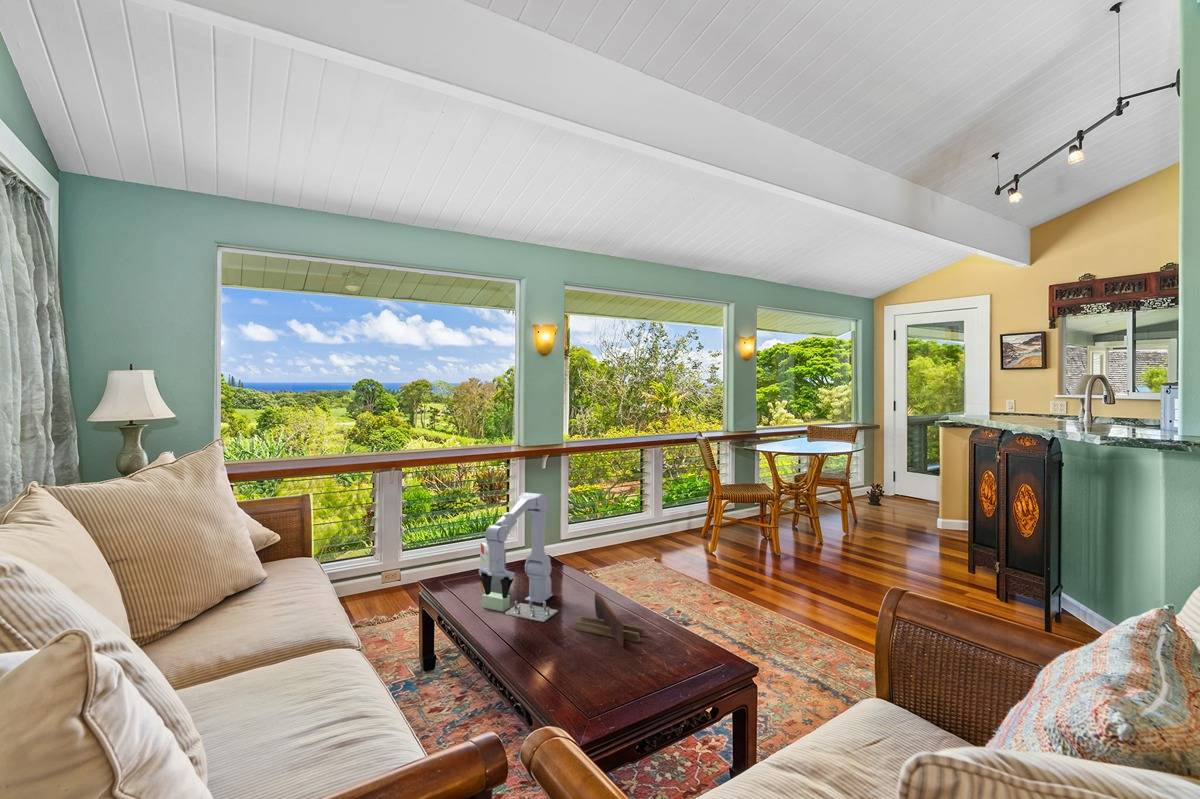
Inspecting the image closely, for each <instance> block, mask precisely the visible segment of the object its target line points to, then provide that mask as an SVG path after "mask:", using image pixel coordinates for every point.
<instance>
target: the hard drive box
mask: <svg viewBox="0 0 1200 799" xmlns="http://www.w3.org/2000/svg"><path fill="white" fill-rule="evenodd" d="M479 547H480V548H479V554H480V555H479V556H480V557H479V559H480V560H479V561H480V562H479V564H480V565H479V566H480V567H479V568H482V567H484V568H488V545H487V540H483V541H480V542H479ZM506 551H507V549H506V548H505V547H504V569H505V570H507V567H506V566H507V565H506V564H507V563H506V561H507V560H506V559H507V558H506V557H507V556H506V555H507V553H506ZM479 576H481V574H479ZM502 579H504V577H498V576H492V580H491V592H494V593H499V594H502V586H501V582H500V580H502ZM479 581H480V580H479ZM479 586H480V588H481V590H482V591H483V592H484V593H483V594H485V590H484V587H483V584H482V582H481V581H480V585H479Z"/></svg>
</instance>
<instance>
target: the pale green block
mask: <svg viewBox="0 0 1200 799" xmlns="http://www.w3.org/2000/svg"><path fill="white" fill-rule="evenodd" d="M510 602H511V596H510V595H509V594H508V597H507V598H505V599H503V597H502V594H499V593H494V592H491V593H490V594H489V595H486V594H485V593H483V594H482V595H481V608H483V609H487V610H492V611H493V610H494V611H498V612H506V611H507V610H509V608H510V609H511V607H510Z"/></svg>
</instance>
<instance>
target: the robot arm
mask: <svg viewBox="0 0 1200 799" xmlns="http://www.w3.org/2000/svg"><path fill="white" fill-rule="evenodd" d="M526 511H528V512H529V513H530V514H531V516H532V520H531V522H532V523H531V553H530V554H529V555H528V556H526V558H525V559H526V560H525V564H524V572H525V574H526V575H527V577H528V585H529V586H528V588H529V589H528V596H526V597H525V598H524V600H525V601H528V602H529V599H532V603H533V602H534V603H538V604H543V602H546V601H547V600H548V599H550V598H551V597H552V596H553V595H554V594H553V593H552V578H551V576H550V575H551V572H552V570H553V569H552V564H551V557H550V556H549V555H548V554H547V553H546V552H545V543H546V540H545V539H546V536H545V535H546V513H547V512H548V497H547V496H546V495H545V494H544V493H534V492H526V491H523V492H522V493H521V494H520V495H519V496H518V499H517V503H516V504H515V505H514V507H512V509H511V510H510V511H509V512H508V511H507V512H504V513H503V514H502V515H501V517H500V518H499V519H498V520H497V521H496V522H495V523H494V524H491V525H489V526H488V527H487V528H486V530H485V533H484V539H485V541H487V545H488V568H484V567H482V568H480V567H479V568H478V575H479V577H478V578H479V581H481V582H482V584H483V587H484V590H485V593H484V594H486V595H489V594H490V593H491V580H492V576H498V577H504V579H502V580H500V582H501V586H502V597H503V599H505V598H507V597H508V595H509V592H510V588H511V585H512V584H513V582H514V580H515V577H516V575H515V572H513V571H510V570H508V569H506V570H505V569H504V548H505V541H507V539H508V537H509V534H510V531H511V530H512V529H513V528H514V527H515V526H516V524H517V522H518V520H517V519H518V518H519V517H520V516H521V515H523V513H524V512H526ZM480 574H481V576H480Z"/></svg>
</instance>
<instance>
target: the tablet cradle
mask: <svg viewBox="0 0 1200 799" xmlns="http://www.w3.org/2000/svg"><path fill="white" fill-rule="evenodd" d="M574 630H576V631H580V632H585V633H590V634H595V635H596V634H597V635H601V636H605V637H610V638H614V637H613V635H612V629H611V628H610V627H608V626H606V625H605V621H604V620H602V619H598V618H597V617H591V616H586V615H582V616H581V617H580V620H575V621H574ZM644 636H645V627H642V626H638V625H632V624H628V623H623V641H625V640H626V641H629V642H634V643H639V642H640V637H644Z"/></svg>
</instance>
